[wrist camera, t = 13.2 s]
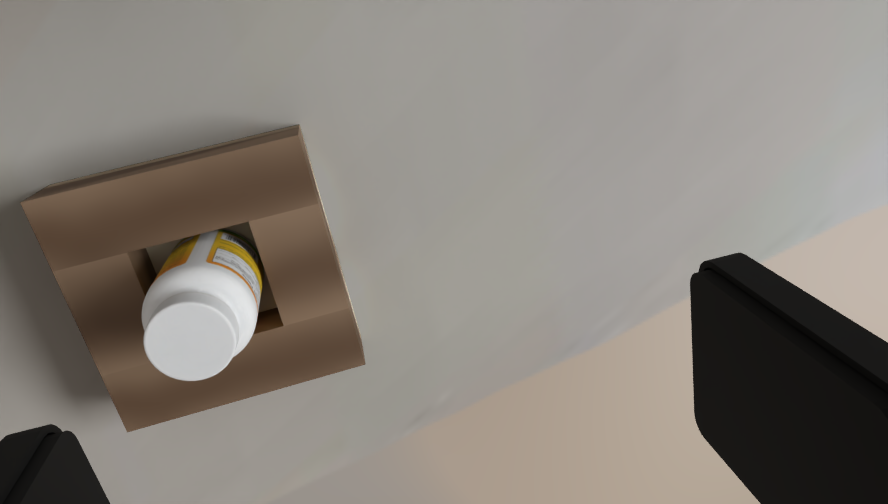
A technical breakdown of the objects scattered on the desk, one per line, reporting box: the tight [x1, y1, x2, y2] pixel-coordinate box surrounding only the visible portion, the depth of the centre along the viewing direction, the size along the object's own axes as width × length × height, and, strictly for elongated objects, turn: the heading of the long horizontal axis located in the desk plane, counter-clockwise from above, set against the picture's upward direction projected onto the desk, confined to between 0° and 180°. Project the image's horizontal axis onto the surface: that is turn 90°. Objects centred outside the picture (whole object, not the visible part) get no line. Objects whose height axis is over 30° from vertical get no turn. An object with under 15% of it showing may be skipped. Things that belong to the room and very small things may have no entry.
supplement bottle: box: [142, 228, 264, 381], centre depth 34 cm, size 5×5×10 cm
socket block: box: [21, 125, 365, 432], centre depth 37 cm, size 14×14×4 cm
